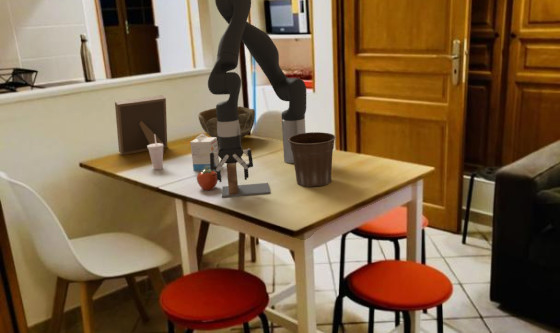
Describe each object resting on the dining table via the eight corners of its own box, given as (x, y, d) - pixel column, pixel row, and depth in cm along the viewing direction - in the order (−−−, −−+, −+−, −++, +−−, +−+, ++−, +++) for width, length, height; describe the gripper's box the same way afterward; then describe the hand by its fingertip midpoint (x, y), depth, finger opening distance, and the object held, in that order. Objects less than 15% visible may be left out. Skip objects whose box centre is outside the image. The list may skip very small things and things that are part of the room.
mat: (268, 184, 183) (268, 182, 183) (270, 193, 174) (269, 191, 173) (222, 188, 182) (222, 186, 182) (222, 197, 172) (221, 195, 172)
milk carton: (213, 170, 204) (209, 137, 200) (193, 170, 206) (189, 137, 202) (219, 164, 212) (216, 132, 208) (200, 164, 214) (197, 132, 210)
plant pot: (323, 192, 172) (321, 144, 167) (282, 186, 180) (279, 141, 176) (344, 178, 185) (343, 133, 181) (305, 173, 194) (303, 130, 189)
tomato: (215, 191, 179) (213, 169, 176) (194, 191, 180) (192, 169, 178) (221, 185, 186) (219, 163, 183) (201, 185, 187) (199, 163, 185)
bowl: (234, 150, 232) (231, 117, 228) (189, 145, 247) (186, 114, 243) (268, 137, 254) (266, 107, 250) (225, 133, 269) (223, 104, 265)
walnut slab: (238, 187, 180) (235, 159, 177) (238, 194, 173) (235, 165, 170) (229, 188, 180) (226, 160, 177) (229, 194, 173) (226, 165, 170)
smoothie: (169, 166, 214) (165, 133, 210) (159, 170, 208) (155, 136, 204) (156, 165, 216) (152, 132, 213) (146, 169, 211) (142, 136, 207)
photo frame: (119, 153, 240) (111, 99, 233) (164, 145, 251) (158, 93, 244) (128, 160, 228) (120, 103, 221) (175, 151, 239) (169, 97, 231)
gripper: (250, 129, 175) (253, 175, 180) (207, 132, 174) (212, 178, 179) (250, 134, 168) (254, 181, 173) (206, 137, 167) (211, 185, 172)
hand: (233, 180), depth 176 cm, fingers open, 8 cm apart
